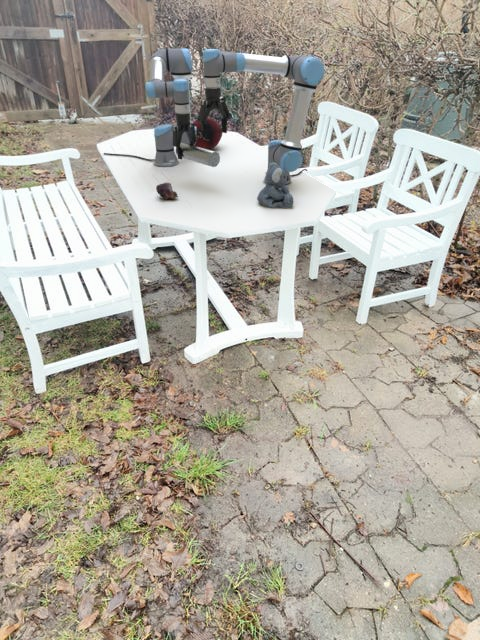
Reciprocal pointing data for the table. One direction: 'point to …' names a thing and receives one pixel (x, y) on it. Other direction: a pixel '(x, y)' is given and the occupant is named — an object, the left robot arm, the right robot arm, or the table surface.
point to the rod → (199, 155)
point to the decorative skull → (208, 134)
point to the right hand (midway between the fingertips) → (214, 135)
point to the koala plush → (275, 189)
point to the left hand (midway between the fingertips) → (185, 157)
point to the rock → (166, 191)
